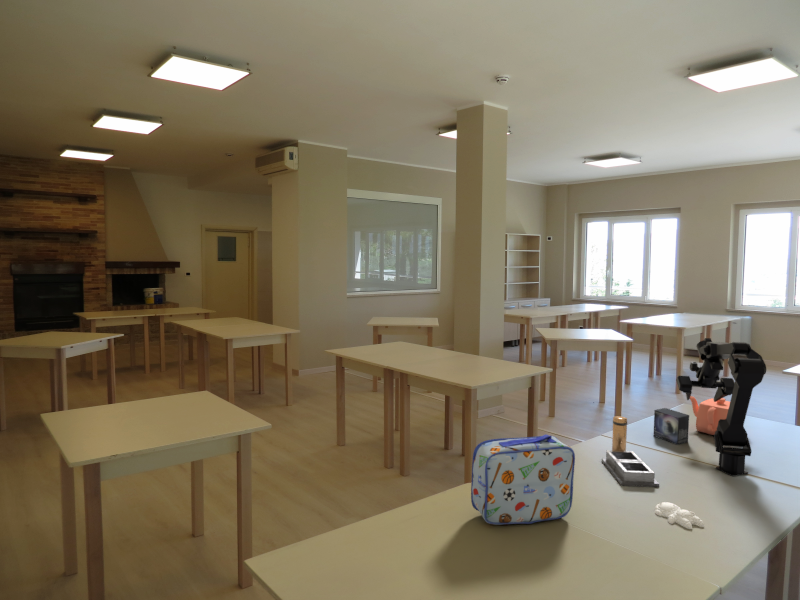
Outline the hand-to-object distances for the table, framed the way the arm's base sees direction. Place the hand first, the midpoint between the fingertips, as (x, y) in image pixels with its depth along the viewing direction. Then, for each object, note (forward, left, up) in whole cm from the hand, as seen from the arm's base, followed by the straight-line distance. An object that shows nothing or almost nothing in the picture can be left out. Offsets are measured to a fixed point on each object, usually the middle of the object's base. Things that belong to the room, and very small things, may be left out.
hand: (700, 400), depth 196 cm
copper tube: (-6, +40, -15) cm, 43 cm away
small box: (+3, +11, -15) cm, 19 cm away
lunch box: (-36, +94, -15) cm, 102 cm away
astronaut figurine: (-48, +55, -16) cm, 74 cm away
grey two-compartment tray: (-20, +48, -15) cm, 54 cm away
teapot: (+7, -12, -15) cm, 21 cm away
